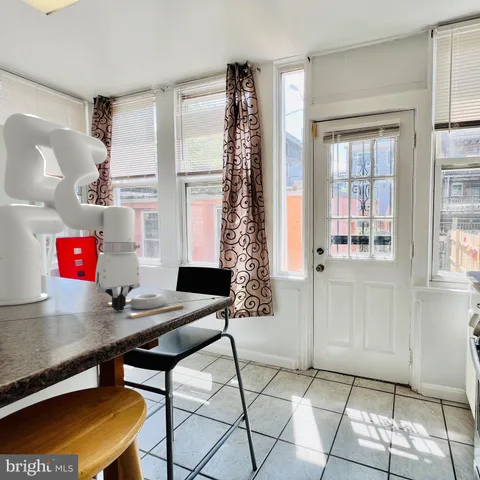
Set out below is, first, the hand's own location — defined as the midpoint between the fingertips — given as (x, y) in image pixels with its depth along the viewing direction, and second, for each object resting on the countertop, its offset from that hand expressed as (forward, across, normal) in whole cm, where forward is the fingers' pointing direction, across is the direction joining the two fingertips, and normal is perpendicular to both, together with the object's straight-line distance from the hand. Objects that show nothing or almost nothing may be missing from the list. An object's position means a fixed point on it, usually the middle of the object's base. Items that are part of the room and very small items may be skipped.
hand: (118, 309), depth 80 cm
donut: (+1, -8, 0) cm, 8 cm away
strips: (0, -7, 0) cm, 7 cm away
